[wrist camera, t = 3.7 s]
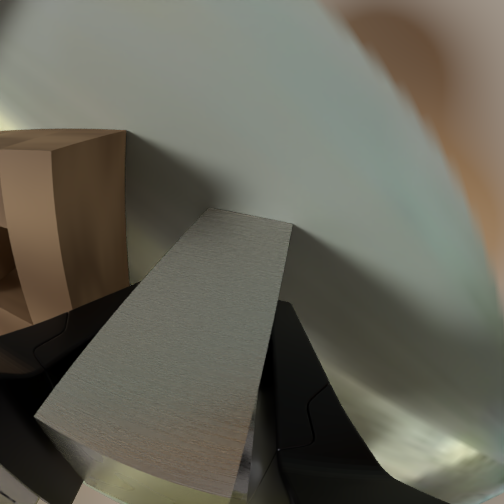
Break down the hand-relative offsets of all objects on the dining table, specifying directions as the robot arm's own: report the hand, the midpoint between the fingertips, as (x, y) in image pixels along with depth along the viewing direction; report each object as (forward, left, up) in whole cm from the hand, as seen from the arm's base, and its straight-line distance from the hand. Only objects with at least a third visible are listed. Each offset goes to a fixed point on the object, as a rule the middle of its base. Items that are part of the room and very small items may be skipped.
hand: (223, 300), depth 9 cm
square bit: (0, 0, -3) cm, 3 cm away
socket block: (-1, +10, -3) cm, 10 cm away
